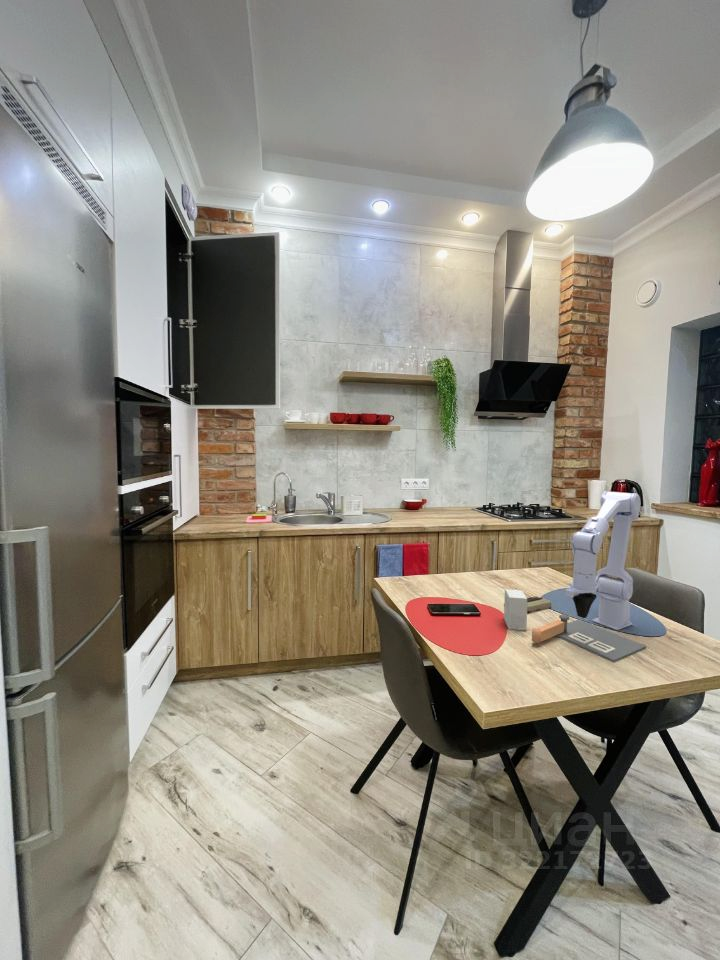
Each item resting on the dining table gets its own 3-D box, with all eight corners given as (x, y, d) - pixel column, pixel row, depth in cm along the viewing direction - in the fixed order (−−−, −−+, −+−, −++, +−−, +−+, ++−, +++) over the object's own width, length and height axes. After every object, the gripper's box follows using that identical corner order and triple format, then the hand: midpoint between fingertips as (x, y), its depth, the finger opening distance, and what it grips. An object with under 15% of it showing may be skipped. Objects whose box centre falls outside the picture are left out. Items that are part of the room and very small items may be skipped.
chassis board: (578, 621, 128) (579, 605, 127) (646, 647, 110) (647, 630, 110) (546, 631, 120) (547, 615, 119) (613, 662, 102) (615, 643, 102)
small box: (526, 631, 120) (527, 598, 119) (507, 629, 121) (509, 597, 120) (521, 620, 128) (522, 590, 127) (503, 618, 129) (504, 588, 128)
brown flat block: (532, 601, 146) (533, 593, 146) (551, 609, 139) (551, 600, 139) (503, 608, 139) (503, 599, 139) (521, 616, 132) (521, 607, 132)
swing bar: (564, 631, 117) (565, 621, 117) (537, 643, 109) (538, 632, 109) (557, 628, 119) (557, 619, 119) (529, 640, 111) (530, 629, 111)
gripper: (585, 565, 120) (583, 607, 121) (556, 571, 113) (554, 616, 114) (608, 571, 114) (606, 615, 114) (579, 578, 107) (577, 625, 107)
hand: (582, 616), depth 114 cm, fingers closed
